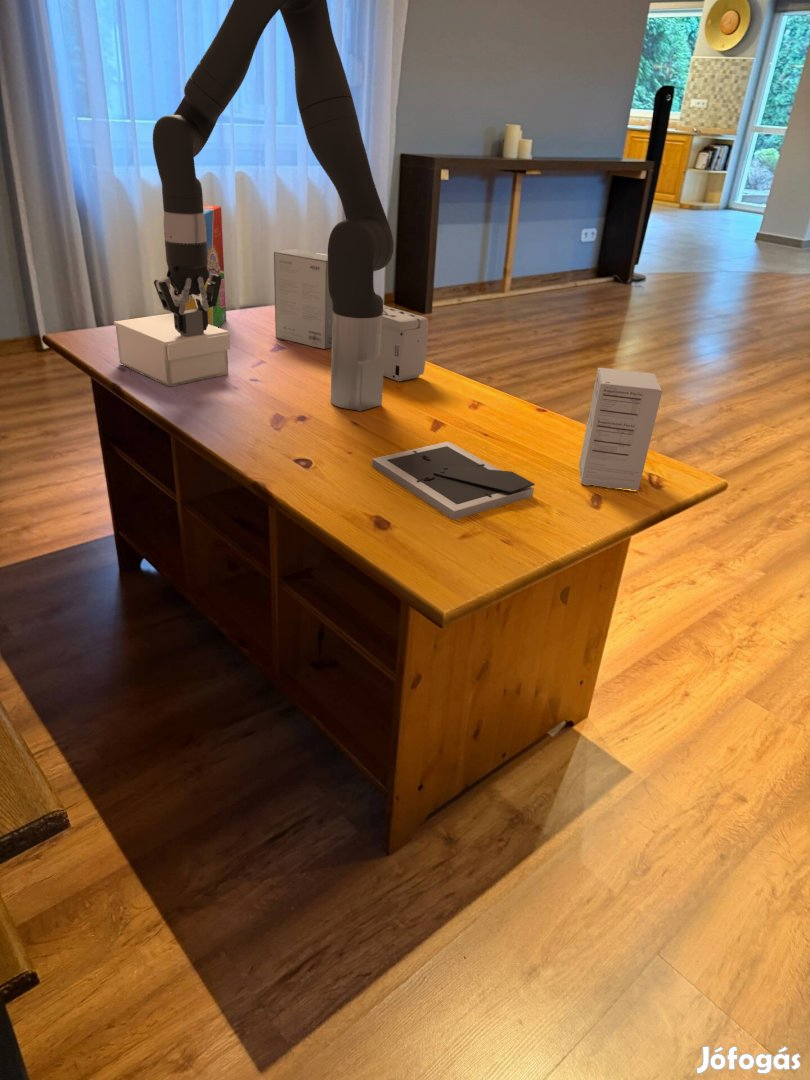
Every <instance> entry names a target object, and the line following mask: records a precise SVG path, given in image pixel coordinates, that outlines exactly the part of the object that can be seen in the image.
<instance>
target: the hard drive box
mask: <svg viewBox="0 0 810 1080" xmlns="http://www.w3.org/2000/svg"><path fill="white" fill-rule="evenodd" d="M273 274H274V275H273V276H274V277H273V278H274V280H273V281H274V285H273V286H274V320H275V321H274V323H275V329H274V330H275V338H278V339H282V340H285V341H288V342H293V343H298V344H300V345H301V344H303V345H306V346H309V347H312V348H318V349H321V350H326V349H327V350H328V349H330V348H332V315H333V304H332V300H331V297H330V294H329V288H328V253H321V252H315V251H308V250H301V249H295V248H292V249H290V248H289V249H285V250H278V251H274V252H273Z"/></svg>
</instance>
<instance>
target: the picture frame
mask: <svg viewBox="0 0 810 1080" xmlns="http://www.w3.org/2000/svg"><path fill="white" fill-rule="evenodd" d="M371 466H372V468H374V469H375V470H377V472H378V471H379V473H381V474H383V475H384V476H386V477H388V478H389V479H391V480H392V481H394V482H395V483H397V484H398V485H400V486H401V487H403V488H404V489H405V490H407V491H409V492H410V493H412V494H413V495H415V496H416V497H418V498H419V499H421V500H423V501H424V502H425V503H427V504H429V505H430V506H432V507H433V508H434V509H436V510H438V511H439V512H441V513H442V514H444V515H445V516H446V517H448V518H450V519H451V520H453V521H454V520H458V519H461V518H465V517H469V516H472V515H475V514H478V513H481V512H485V511H488V510H491V509H495V508H499V507H503V506H505V505H508V504H512V502H513V503H517V502H519V500H520V501H523V500H526V499H530V498H533V496H534V491H535V488H534V487H533V486H535V483H534V482H532V481H530V480H528V479H526V478H525V477H523V476H521V475H520V474H517V473H516V472H514V471H509V470H502V469H501V468H498V467H497V466H494V465H493V464H490V463H489V462H487V461H485V460H483V459H482V458H480V457H478V456H475V455H474V454H472V453H471V452H469V451H468V450H465V449H463V448H462V447H460V446H458V445H456V444H454V443H452V442H450V441H444V442H439V443H436V444H431V445H426V446H423V447H419V448H413V449H410V450H404V451H400V452H399V451H398V452H395V453H391V454H387V455H382V456H378V457H373V458H372V459H371ZM529 497H530V498H529ZM502 505H503V506H502Z"/></svg>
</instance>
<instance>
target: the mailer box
mask: <svg viewBox="0 0 810 1080" xmlns="http://www.w3.org/2000/svg"><path fill="white" fill-rule="evenodd" d="M115 332H116V340H117V349H118V358H119V364H120V363H121V364H123V365H125V366H127V367H129V368H131V369H133V370H135V371H134V372H136V371H137V372H136V373H138V372H139V373H138V374H140V373H142V374H144V375H146V376H148V377H147V378H149V377H150V378H149V379H151V378H152V379H151V380H153V379H154V380H153V381H155V380H157V381H159V382H160V383H159V382H158V383H159V384H161V383H163V384H162V385H164V384H165V385H164V386H166V385H167V386H166V387H168V386H172V387H175V386H174V385H176V386H180V385H179V384H181V385H184V384H185V383H186V384H190V383H194V382H199V381H203V380H208V379H212V378H217V377H221V376H225V375H229V360H228V358H229V357H228V355H229V354H228V350H223V351H217V352H212V353H207V354H202V355H196V356H191V357H186V358H181V359H175V360H170V361H169V360H168V355H167V346H166V347H165V346H163V345H160V344H158V343H155V342H153V341H151V340H148V339H146V338H143V337H141V336H138V335H136V334H134V333H131V332H129V331H126V330H124V329H121V328H119V327H116V326H115ZM123 365H122V366H123ZM125 366H124V367H125ZM127 367H126V368H127ZM129 368H128V369H129ZM131 369H130V370H131ZM133 370H132V371H133ZM142 374H141V375H142ZM144 375H143V376H144ZM146 376H145V377H146ZM157 381H156V382H157Z"/></svg>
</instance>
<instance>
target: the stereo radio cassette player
mask: <svg viewBox="0 0 810 1080" xmlns="http://www.w3.org/2000/svg"><path fill="white" fill-rule="evenodd" d="M428 336H429V319H428V318H427V317H425V316H422V315H418V314H415V313H412V312H408V311H405V310H401V309H397V308H395V307H392V306H387V305H384V304H383V319H382V337H381V356H383V357H384V375H383V377H386V378H388V379H391V380H394V381H398V382H397V383H400V382H402V381H407V380H411V379H417V378H419V377H420V376H422V375H424V373H425V367H426V361H427V351H428V338H429V337H428ZM399 381H400V382H399Z"/></svg>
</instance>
